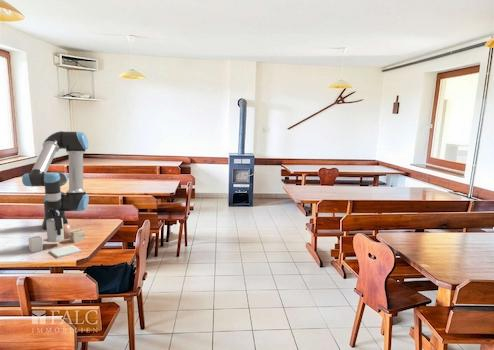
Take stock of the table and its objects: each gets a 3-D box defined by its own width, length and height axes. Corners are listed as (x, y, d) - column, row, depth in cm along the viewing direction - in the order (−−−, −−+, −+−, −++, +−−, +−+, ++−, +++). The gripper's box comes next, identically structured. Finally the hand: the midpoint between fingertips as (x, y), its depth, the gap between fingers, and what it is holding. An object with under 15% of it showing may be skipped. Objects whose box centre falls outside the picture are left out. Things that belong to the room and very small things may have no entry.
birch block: (70, 240, 193) (69, 230, 192) (80, 238, 197) (80, 228, 196) (74, 243, 189) (74, 233, 188) (84, 240, 193) (84, 231, 192)
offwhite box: (29, 250, 176) (28, 237, 175) (39, 247, 180) (38, 235, 179) (32, 252, 173) (31, 240, 172) (42, 250, 177) (41, 238, 176)
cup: (56, 242, 179) (55, 222, 177) (44, 241, 181) (42, 221, 179) (67, 237, 187) (66, 218, 185) (55, 236, 189) (54, 216, 187)
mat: (49, 251, 174) (49, 250, 174) (72, 246, 183) (72, 244, 183) (57, 258, 167) (57, 256, 166) (81, 251, 176) (81, 250, 176)
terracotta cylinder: (58, 237, 197) (57, 225, 195) (68, 235, 201) (67, 223, 200) (62, 239, 193) (61, 227, 192) (72, 237, 197) (72, 224, 196)
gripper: (39, 197, 184) (41, 235, 187) (53, 204, 171) (55, 244, 174) (53, 195, 190) (55, 232, 193) (68, 202, 176) (70, 241, 180)
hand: (55, 238), depth 184 cm, fingers closed on cup, 8 cm apart
